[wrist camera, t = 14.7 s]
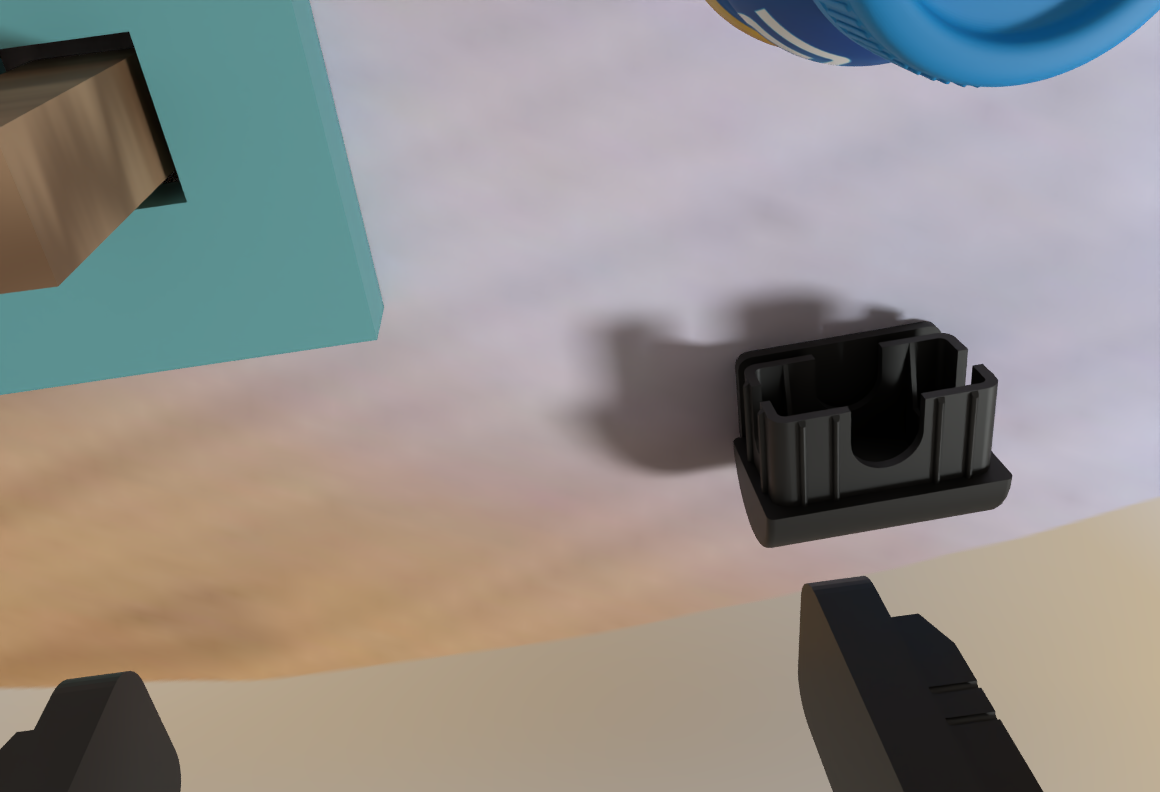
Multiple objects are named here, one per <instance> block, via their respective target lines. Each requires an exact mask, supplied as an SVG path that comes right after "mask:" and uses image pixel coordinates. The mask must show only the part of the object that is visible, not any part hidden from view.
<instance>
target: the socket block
mask: <svg viewBox="0 0 1160 792" xmlns="http://www.w3.org/2000/svg"><path fill="white" fill-rule="evenodd" d="M121 32H129V33H130V36H131V38H132V41H133V44H134V47H135V50H136V53H137V56H138V59H139V62H140V65H141V68H142V71H143V74H144V77H145V80H146V83H147V86H148V88H149V91H150V94H151V97H152V100H153V103H154V106H155V109H156V112H157V115H158V118H159V121H160V124H161V127H162V130H163V133H164V136H165V139H166V141H167V144H168V147H169V150H170V153H171V156H172V159H173V162H174V165H175V168H176V171H177V174H178V177H179V180H180V181H179V182H172V183H164V184H160V185H159V186H158V187H157V188H156V189H155V190H154V191H153V192H152V193H151V194H150V195H149V196H148V197H147V198H146V199H145V200H144V201H143V202H142V203H141V204H140V205H139V206H138V207H137V208H136V209H135V210H134V211H133V212H132V213H131V214H130V215H129V216H128V217H127V218H126V219H125V220H124V221H123V222H122V223H121V224H120V225H119V226H118V227H117V228H116V229H115V230H114V231H113V232H112V233H111V234H110V235H109V236H108V237H107V238H106V239H105V240H104V241H103V242H102V243H101V244H100V245H99V246H98V247H97V248H96V249H95V250H94V251H93V252H92V253H91V254H90V255H89V256H88V257H87V258H86V259H85V260H84V261H83V262H82V263H81V264H80V265H79V266H78V267H77V268H76V269H75V270H74V271H73V272H72V273H71V274H70V275H69V276H68V277H67V278H66V279H65V280H64V281H63V282H62V283H61V284H60V285H59V286H58V287H51V288H43V289H36V290H28V291H20V292H13V293H5V294H0V395H3V394H10V393H17V392H24V391H30V390H37V389H44V388H51V387H58V386H65V385H71V384H78V383H85V382H92V381H99V380H106V379H112V378H119V377H126V376H133V375H140V374H146V373H153V372H160V371H167V370H174V369H181V368H187V367H194V366H201V365H208V364H215V363H222V362H228V361H235V360H242V359H249V358H256V357H263V356H269V355H276V354H283V353H290V352H297V351H303V350H310V349H317V348H324V347H331V346H338V345H344V344H351V343H358V342H365V341H372V340H377V338H378V333H379V328H380V324H381V319H382V314H383V310H384V305H383V301H382V297H381V293H380V289H379V285H378V281H377V277H376V273H375V269H374V264H373V260H372V256H371V252H370V248H369V244H368V240H367V236H366V232H365V228H364V223H363V219H362V215H361V211H360V207H359V203H358V199H357V195H356V191H355V187H354V182H353V178H352V174H351V170H350V166H349V162H348V158H347V154H346V150H345V146H344V141H343V137H342V133H341V129H340V125H339V121H338V117H337V113H336V109H335V104H334V100H333V96H332V92H331V88H330V84H329V80H328V76H327V72H326V68H325V63H324V59H323V55H322V51H321V47H320V43H319V39H318V35H317V31H316V27H315V22H314V18H313V14H312V10H311V6H310V2H309V0H0V49H5V48H12V47H19V46H27V45H34V44H41V43H49V42H56V41H63V40H70V39H78V38H85V37H92V36H100V35H107V34H114V33H121ZM5 72H6V69H5V67H4V65H3V62H2V60H1V57H0V75H1V74H3V73H5Z"/></svg>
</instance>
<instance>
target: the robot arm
mask: <svg viewBox="0 0 1160 792" xmlns="http://www.w3.org/2000/svg"><path fill="white" fill-rule="evenodd" d="M799 636H800V637H799V660H798V680H799V688H800V695H801V701H802V705H803V709H804V713H805V717H806V720H807V723H808V726H809V729H810V731H811V734H812V737H813V739H814V742H815V745H816V747H817V750H818V753H819V755H820V758H821V761H822V764H823V766H824V769H825V771H826V774H827V777H828V780H829V782H830V785H831V788H832V790H833V792H1043V791H1042V789H1041V787H1040V785H1039V784H1038V782H1037V780H1036V779H1035V777H1034V776H1033V774H1032V772H1031V770H1030V769H1029V767H1028V765H1027V764H1026V762H1025V760H1024V759H1023V757H1022V755H1021V754H1020V752H1019V750H1018V749H1017V747H1016V745H1015V743H1014V742H1013V740H1012V738H1011V737H1010V735H1009V733H1008V732H1007V730H1006V728H1005V727H1004V725H1003V723H1002V722H1001V720H1000V719H999V720H997V718H996V715H995V710H994V708H993V707H992V705H991V703H990V702H989V700H988V698H987V697H986V695H985V693H984V692H983V690H982V688H978V685H977V680H976V678H975V677H974V675H973V673H972V672H971V670H970V668H969V666H968V665H967V663H966V661H965V660H964V658H963V656H962V655H961V653H960V651H959V650H958V648H957V647H956V645H955V643H954V642H952V641H951V640H950V639H949V638H948V637H946V636H945V635H944V634H943V633H941V632H940V631H939V630H938V629H937V628H935V627H934V626H933V625H932V624H930V623H929V622H928V621H927V620H926V619H924V618H923V617H922V616H921V615H919V614H912V615H905V616H897V617H890V615H889V613H888V611H887V609H886V607H885V605H884V603H883V602H882V600H881V598H880V596H879V594H878V592H877V590H876V589H875V587H874V585H873V583H872V582H871V581H870V579H869V578H867V577H866V576H860V577H852V578H845V579H837V580H830V581H822V582H815V583H807V584H804V586H803V588H802V592H801V611H800V635H799ZM180 788H181V773H180V764H179V759H178V756H177V753H176V751H175V748H174V746H173V745H172V742H171V740H170V738H169V736H168V734H167V731H166V729H165V727H164V725H163V723H162V722H161V719H160V717H159V715H158V712H157V710H156V708H155V706H154V704H153V702H152V700H151V698H150V696H149V694H148V691H147V689H146V687H145V685H144V683H143V681H142V679H141V678H140V677H139V675H138V674H136V673H135V672H132V671H127V672H119V673H112V674H104V675H97V676H89V677H82V678H74V679H67V680H65V681H63V682H61V683H60V684H59V685H58V686H57V687H56V689H55V690H54V692H53V693H52V695H51V697H50V700H49V701H48V703H47V705H46V707H45V709H44V711H43V713H42V715H41V717H40V719H39V721H38V723H37V725H36V727H35V729H34V730H30V731H23V732H17V733H16V734H15V735H14V736H13V737H12V738H11V739H10V740H9V741H8V742H7V743H6V744H5V745H4V746H3V747H2V748H1V749H0V792H180Z"/></svg>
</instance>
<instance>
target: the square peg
mask: <svg viewBox="0 0 1160 792" xmlns="http://www.w3.org/2000/svg"><path fill="white" fill-rule="evenodd" d="M175 169H176V168H175V165H174V162H173V159H172V156H171V153H170V150H169V147H168V144H167V141H166V139H165V136H164V133H163V130H162V127H161V124H160V121H159V118H158V115H157V112H156V109H155V106H154V103H153V100H152V97H151V94H150V91H149V88H148V86H147V83H146V80H145V77H144V74H143V71H142V68H141V65H140V62H139V59H138V56H137V53H136V50H135V48H129V49H121V50H113V51H105V52H97V53H89V54H81V55H73V56H65V57H56V58H48V59H40V60H33V61H30V62H28V63H26V64H24V65H21V66H19V67H17V68H14V69H12V70H10V71H7V72H5V73H3V74H1V75H0V294H5V293H13V292H20V291H28V290H36V289H43V288H51V287H58V286H59V285H60V284H61V283H62V282H63V281H64V280H65V279H66V278H67V277H68V276H69V275H70V274H71V273H72V272H73V271H74V270H75V269H76V268H77V267H78V266H79V265H80V264H81V263H82V262H83V261H84V260H85V259H86V258H87V257H88V256H89V255H90V254H91V253H92V252H93V251H94V250H95V249H96V248H97V247H98V246H99V245H100V244H101V243H102V242H103V241H104V240H105V239H106V238H107V237H108V236H109V235H110V234H111V233H112V232H113V231H114V230H115V229H116V228H117V227H118V226H119V225H120V224H121V223H122V222H123V221H124V220H125V219H126V218H127V217H128V216H129V215H130V214H131V213H132V212H133V211H134V210H135V209H136V208H137V207H138V206H139V205H140V204H141V203H142V202H143V201H144V200H145V199H146V198H147V197H148V196H149V195H150V194H151V193H152V192H153V191H154V190H155V189H156V188H157V187H158V186H159V185H160V184H161V183H162V182H163V181H164V180H165V179H166V178H167V177H168V176H169V175H170V174H171V173H172V172H173V171H174V170H175Z"/></svg>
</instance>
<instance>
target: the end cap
mask: <svg viewBox="0 0 1160 792" xmlns="http://www.w3.org/2000/svg"><path fill="white" fill-rule="evenodd" d="M967 354H968V348H966V347H965V346H964V345H963V344H962V343H961V342H960V341H959V340H958V339H957V338H956V337H954V336H953V335H950V334H946V333H941V331H940V330H939V329H938V328H937V327H936V326H935V325H934V324H933V323H931V322H919V323H914V324H908V325H902V326H896V327H890V328H884V329H879V330H873V331H867V332H861V333H855V334H849V335H844V336H838V337H832V338H826V339H820V340H814V341H809V342H803V343H797V344H791V345H785V346H779V347H774V348H768V349H762V350H756V351H750V352H746V353H744V354H741V355H740V356H739V358H738V359H737V360H736V365H735V369H736V385H737V400H738V415H739V430H740V438H736V439H735V440H734V441H733V443H734V454H735V461H736V468H737V474H738V479H739V484H740V489H741V493H742V498H743V502H744V505H745V509H746V513H747V516H748V519H749V522H750V525H751V527H752V530H753V532H754V534H755V536H756V538H757V540H758V541H759V543H760V544H761V545H763V546H764V547H766V548H773V547H779V546H785V545H790V544H796V543H802V542H808V541H813V540H819V539H825V538H831V537H836V536H842V535H848V534H854V533H859V532H865V531H871V530H877V529H882V528H888V527H894V526H900V525H905V524H911V523H917V522H923V521H928V520H934V519H940V518H946V517H952V516H957V515H963V514H969V513H975V512H980V511H986V510H992V509H995V508H996V507H998V506H999V505H1001V504H1002V503H1003V501H1004V500H1005V498H1006V497H1007V494H1008V492H1009V489H1010V486H1011V480H1012V474H1011V473H1010V472H1009V471H1008V469H1007V468H1006V467H1005V466H1004V465H1003V464H1002V463H1001V461H1000V460H999V459H998V458H997V457H996V456H995V455H994V454H993V452H992V451H991V447H992V437H993V427H994V417H995V406H996V396H997V386H998V379H997V378H996V377H995V376H994V374H993V373H992V372H991V371H989V370H988V369H987V368H986V367H985V366H984V365H983V364H980V365H974V366H973V368H972V380H971V385H966V386H965V380H966V367H967Z"/></svg>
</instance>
